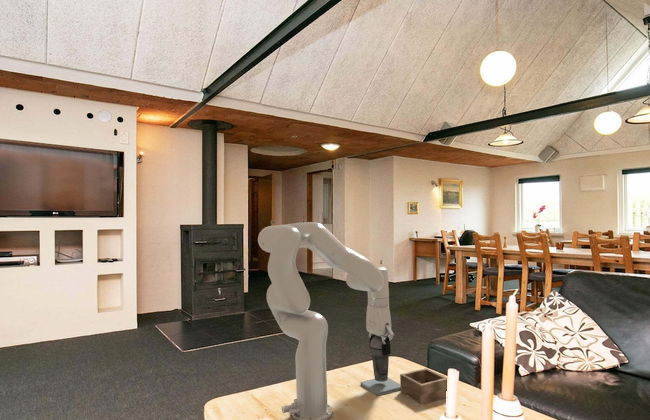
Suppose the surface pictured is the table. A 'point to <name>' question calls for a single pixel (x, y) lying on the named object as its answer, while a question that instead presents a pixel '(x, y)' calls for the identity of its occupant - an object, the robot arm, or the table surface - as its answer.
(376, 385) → the rubber mat
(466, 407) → the table surface
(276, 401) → the table surface
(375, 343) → the beverage cup
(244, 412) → the table surface
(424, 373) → the box
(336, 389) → the table surface
